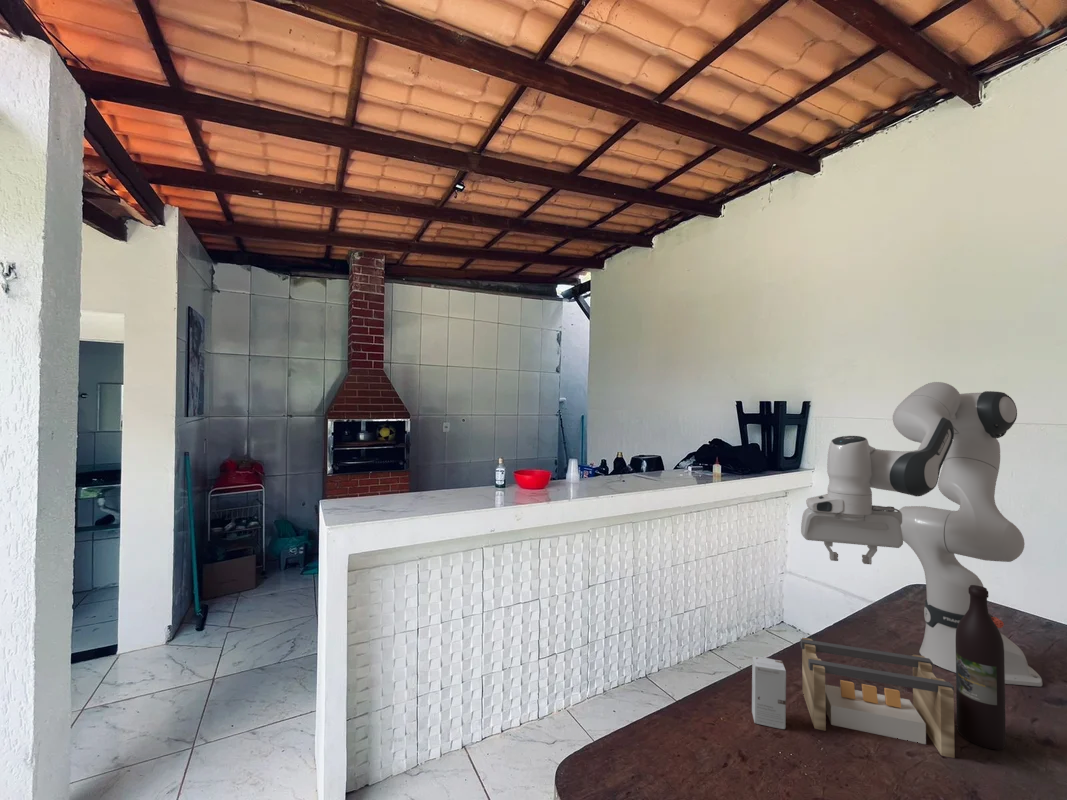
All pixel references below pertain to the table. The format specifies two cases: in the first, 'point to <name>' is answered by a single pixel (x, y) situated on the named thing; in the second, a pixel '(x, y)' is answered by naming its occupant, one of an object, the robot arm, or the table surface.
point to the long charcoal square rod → (866, 653)
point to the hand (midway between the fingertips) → (850, 561)
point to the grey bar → (880, 676)
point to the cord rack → (927, 703)
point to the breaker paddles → (870, 693)
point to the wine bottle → (980, 675)
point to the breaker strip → (874, 716)
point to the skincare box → (769, 692)
